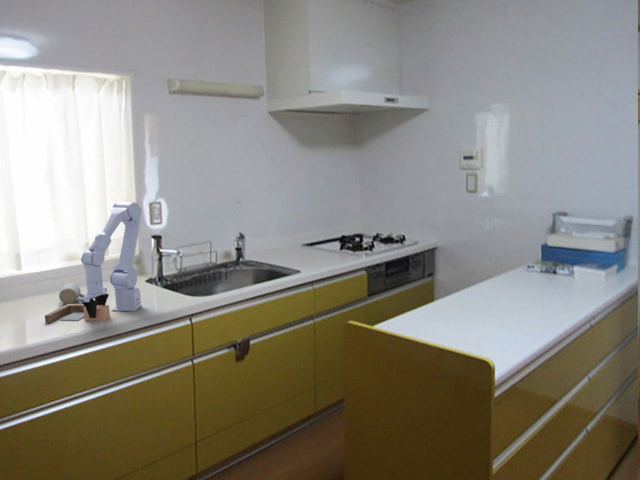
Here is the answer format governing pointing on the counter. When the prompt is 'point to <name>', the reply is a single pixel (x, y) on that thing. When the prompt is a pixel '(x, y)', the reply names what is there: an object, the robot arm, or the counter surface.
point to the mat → (74, 316)
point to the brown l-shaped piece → (63, 312)
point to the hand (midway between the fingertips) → (97, 315)
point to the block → (98, 313)
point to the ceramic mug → (70, 293)
